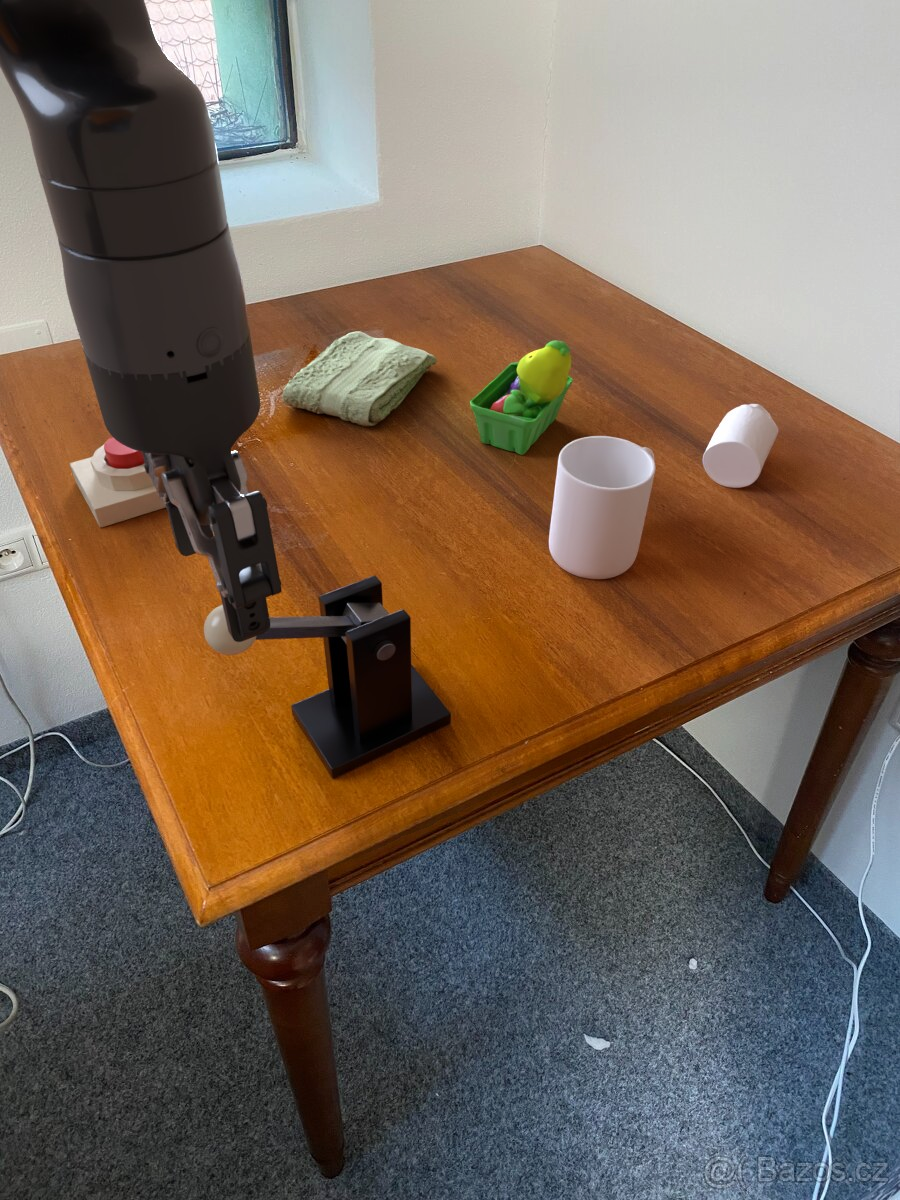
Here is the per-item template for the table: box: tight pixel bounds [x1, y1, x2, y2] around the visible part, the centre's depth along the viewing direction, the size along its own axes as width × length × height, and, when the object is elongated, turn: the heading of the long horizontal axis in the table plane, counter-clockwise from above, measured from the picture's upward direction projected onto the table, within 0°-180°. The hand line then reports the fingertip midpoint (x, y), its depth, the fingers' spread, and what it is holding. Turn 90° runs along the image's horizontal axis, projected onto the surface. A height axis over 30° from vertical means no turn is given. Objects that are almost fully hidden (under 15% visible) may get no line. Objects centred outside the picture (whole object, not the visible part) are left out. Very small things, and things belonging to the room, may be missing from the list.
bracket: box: [290, 574, 452, 780], centre depth 63 cm, size 10×7×12 cm
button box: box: [69, 444, 168, 529], centre depth 87 cm, size 10×9×4 cm
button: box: [103, 436, 145, 469], centre depth 85 cm, size 4×4×2 cm
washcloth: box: [280, 330, 438, 427], centre depth 103 cm, size 13×18×3 cm
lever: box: [203, 603, 390, 656], centre depth 57 cm, size 13×3×3 cm, turn 123°
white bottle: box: [702, 403, 779, 489], centre depth 92 cm, size 6×12×6 cm, turn 153°
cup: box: [548, 435, 656, 580], centre depth 80 cm, size 8×12×10 cm
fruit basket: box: [469, 339, 574, 456], centre depth 94 cm, size 11×9×11 cm
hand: (222, 589), depth 51 cm, fingers open, 8 cm apart
